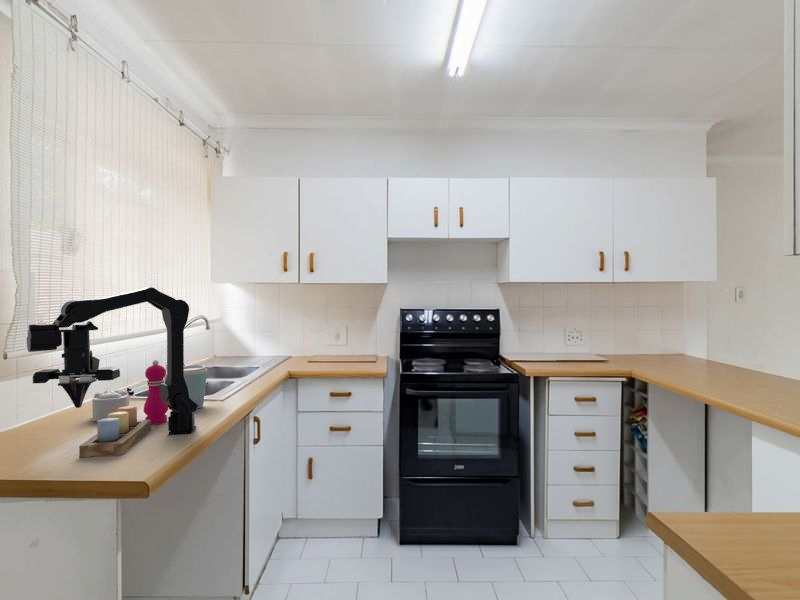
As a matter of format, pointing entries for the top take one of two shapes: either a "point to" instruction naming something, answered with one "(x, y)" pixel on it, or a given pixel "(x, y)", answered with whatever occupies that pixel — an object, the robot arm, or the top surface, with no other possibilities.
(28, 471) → the top surface
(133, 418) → the salmon rounded lump
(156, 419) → the pepper mill
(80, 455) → the wooden compartment tray
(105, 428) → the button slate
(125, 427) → the button ochre
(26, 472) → the top surface
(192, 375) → the disposable coffee cup
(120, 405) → the lumpy-topped squat cylinder
